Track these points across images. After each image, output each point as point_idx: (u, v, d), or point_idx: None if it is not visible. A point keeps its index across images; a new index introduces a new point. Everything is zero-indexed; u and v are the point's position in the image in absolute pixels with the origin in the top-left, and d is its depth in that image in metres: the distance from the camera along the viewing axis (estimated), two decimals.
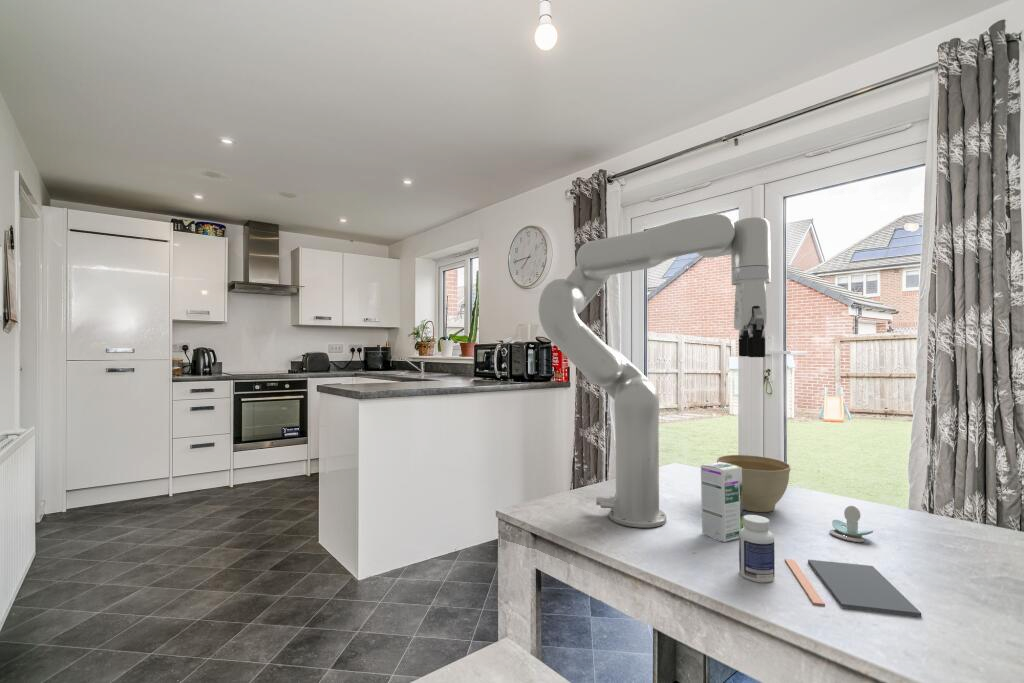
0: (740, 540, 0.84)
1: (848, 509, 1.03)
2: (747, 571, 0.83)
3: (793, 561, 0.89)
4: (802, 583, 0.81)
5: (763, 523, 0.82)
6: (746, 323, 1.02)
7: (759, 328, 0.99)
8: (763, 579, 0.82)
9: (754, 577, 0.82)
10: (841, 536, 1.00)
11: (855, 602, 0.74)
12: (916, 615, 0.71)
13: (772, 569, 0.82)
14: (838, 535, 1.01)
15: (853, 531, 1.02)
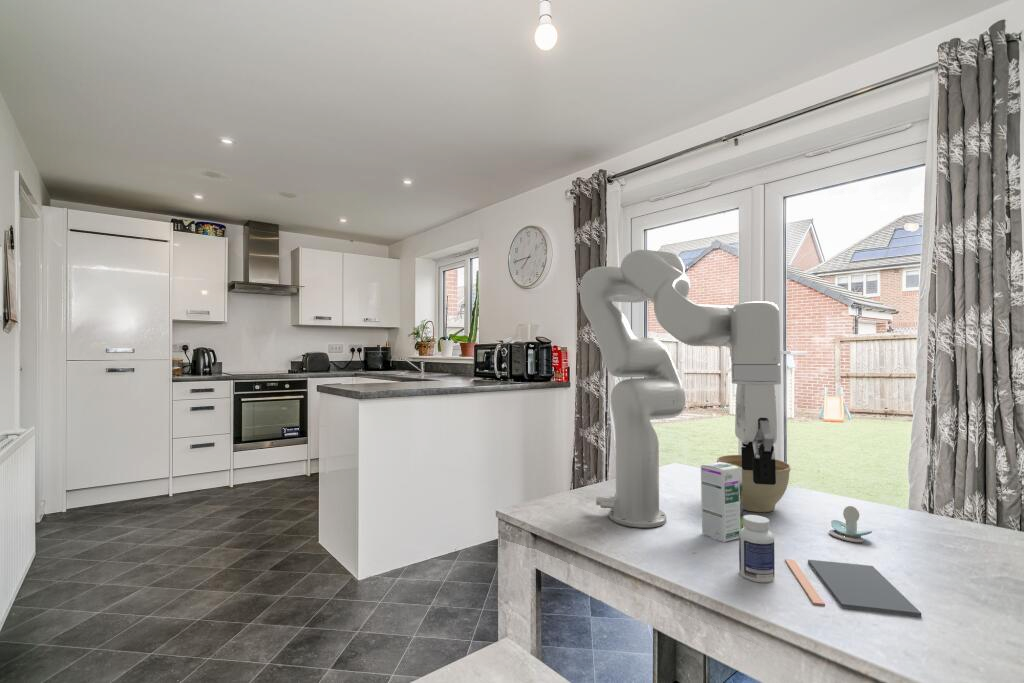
0: (740, 540, 0.84)
1: (847, 509, 1.03)
2: (747, 571, 0.83)
3: (793, 561, 0.89)
4: (802, 583, 0.81)
5: (763, 523, 0.82)
6: (751, 439, 0.80)
7: (768, 450, 0.77)
8: (763, 579, 0.82)
9: (754, 577, 0.82)
10: (840, 536, 1.00)
11: (855, 602, 0.74)
12: (916, 615, 0.71)
13: (772, 569, 0.82)
14: (837, 535, 1.01)
15: (852, 531, 1.01)
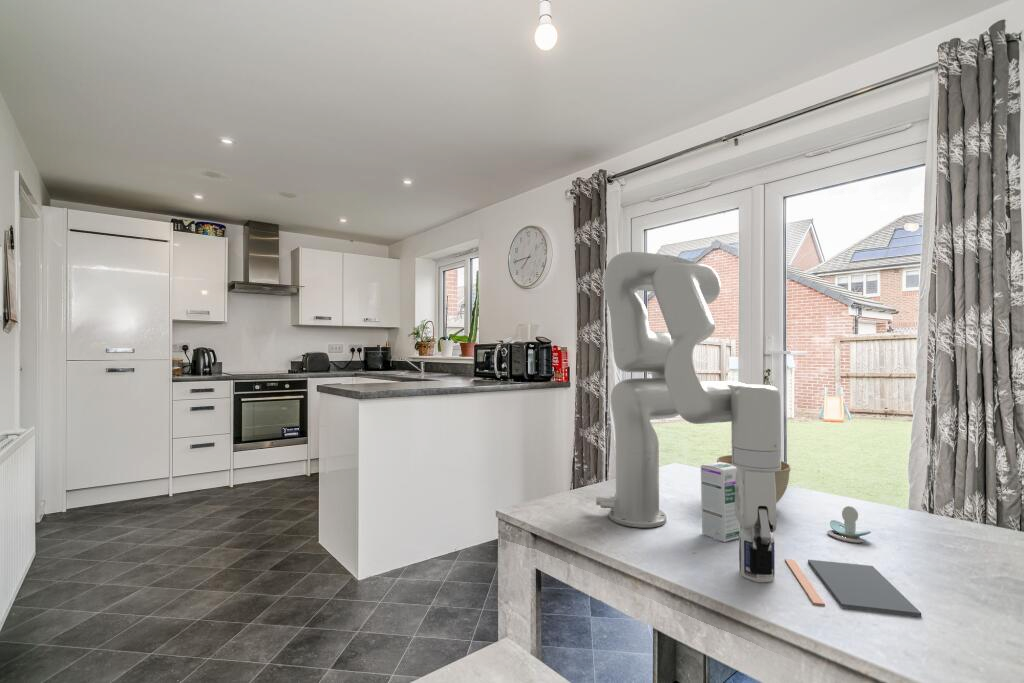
0: (740, 540, 0.84)
1: (846, 509, 1.02)
2: (747, 571, 0.83)
3: (793, 561, 0.89)
4: (802, 583, 0.81)
5: None
6: (750, 527, 0.80)
7: (764, 544, 0.79)
8: (763, 579, 0.82)
9: (754, 577, 0.82)
10: (839, 537, 1.00)
11: (855, 602, 0.74)
12: (916, 615, 0.71)
13: (772, 569, 0.82)
14: (836, 536, 1.01)
15: (851, 531, 1.01)
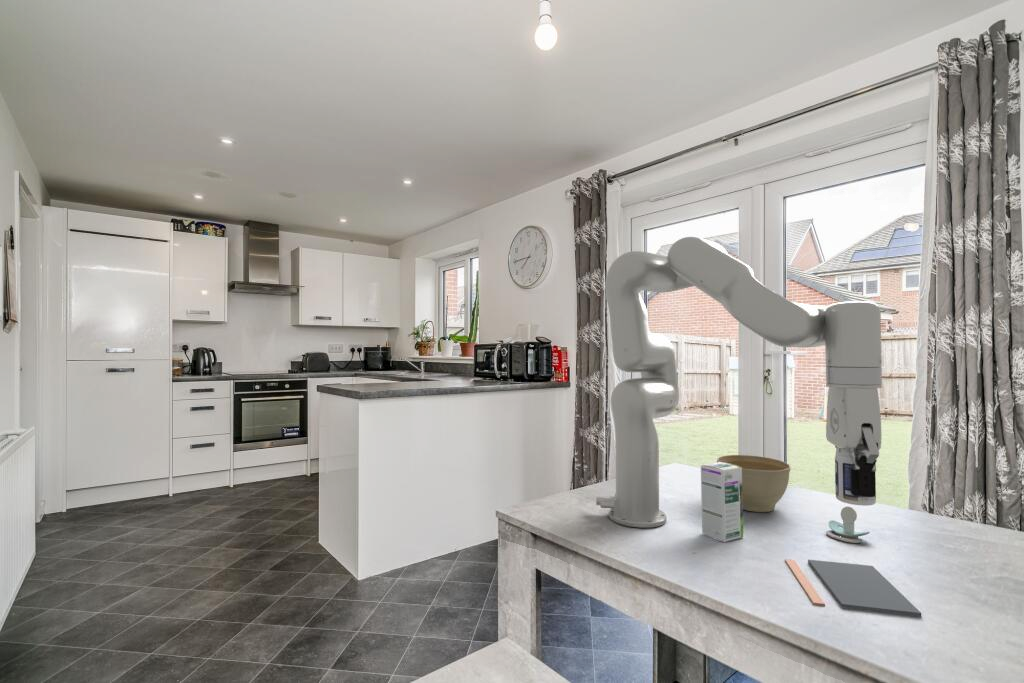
0: (837, 464, 0.81)
1: (844, 510, 1.02)
2: (847, 495, 0.79)
3: (793, 561, 0.89)
4: (802, 583, 0.81)
5: None
6: (853, 446, 0.76)
7: (870, 462, 0.75)
8: (865, 502, 0.78)
9: (855, 500, 0.78)
10: (837, 537, 1.00)
11: (855, 602, 0.74)
12: (916, 615, 0.71)
13: None
14: (834, 536, 1.00)
15: (850, 532, 1.01)
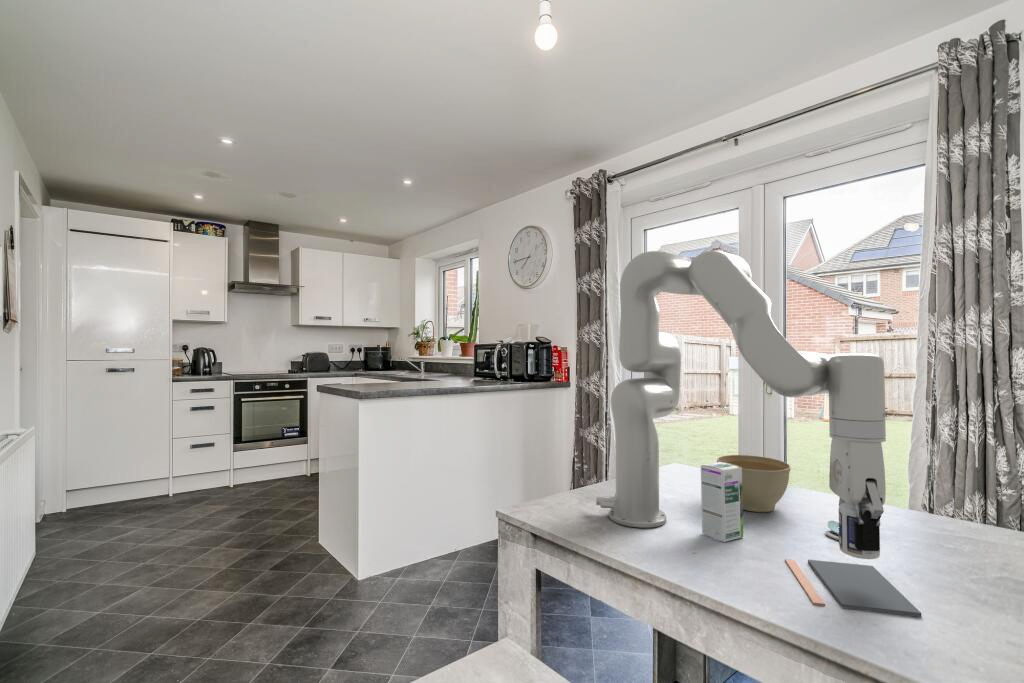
0: (841, 515, 0.80)
1: None
2: (851, 548, 0.79)
3: (793, 561, 0.89)
4: (802, 583, 0.81)
5: None
6: (857, 500, 0.76)
7: (874, 518, 0.75)
8: (869, 555, 0.78)
9: (859, 554, 0.78)
10: (836, 537, 1.00)
11: (855, 602, 0.74)
12: (916, 615, 0.71)
13: None
14: (833, 536, 1.00)
15: None
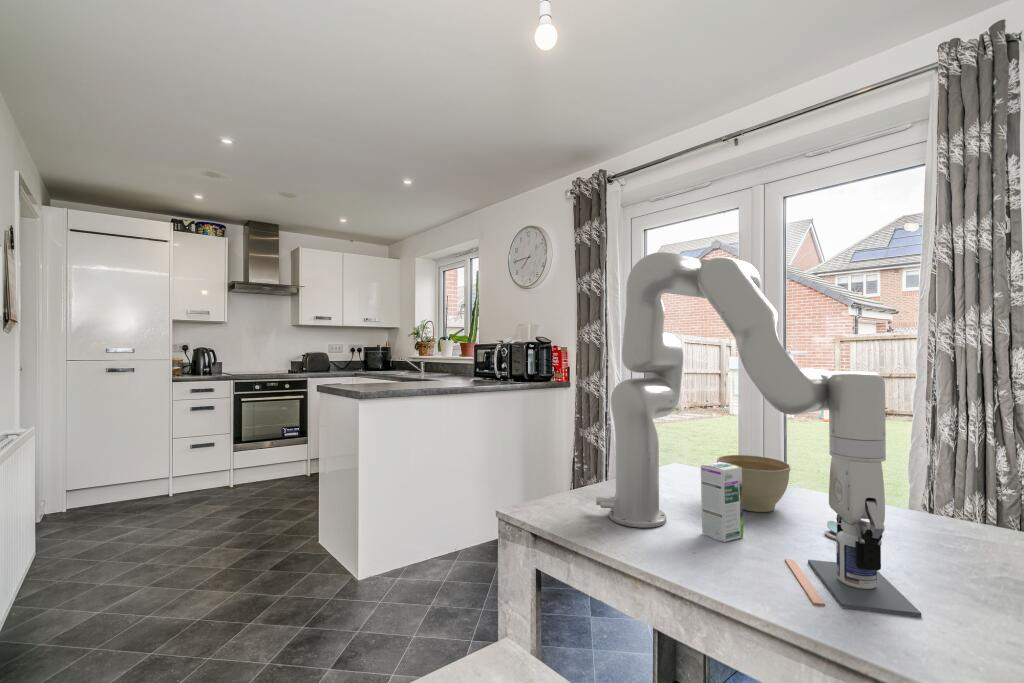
0: (839, 544, 0.81)
1: None
2: (848, 577, 0.79)
3: (793, 561, 0.89)
4: (802, 583, 0.81)
5: (866, 527, 0.79)
6: (857, 520, 0.76)
7: (876, 537, 0.74)
8: (866, 585, 0.78)
9: (856, 583, 0.78)
10: None
11: (855, 602, 0.74)
12: (916, 615, 0.71)
13: (875, 575, 0.78)
14: (833, 536, 1.00)
15: None
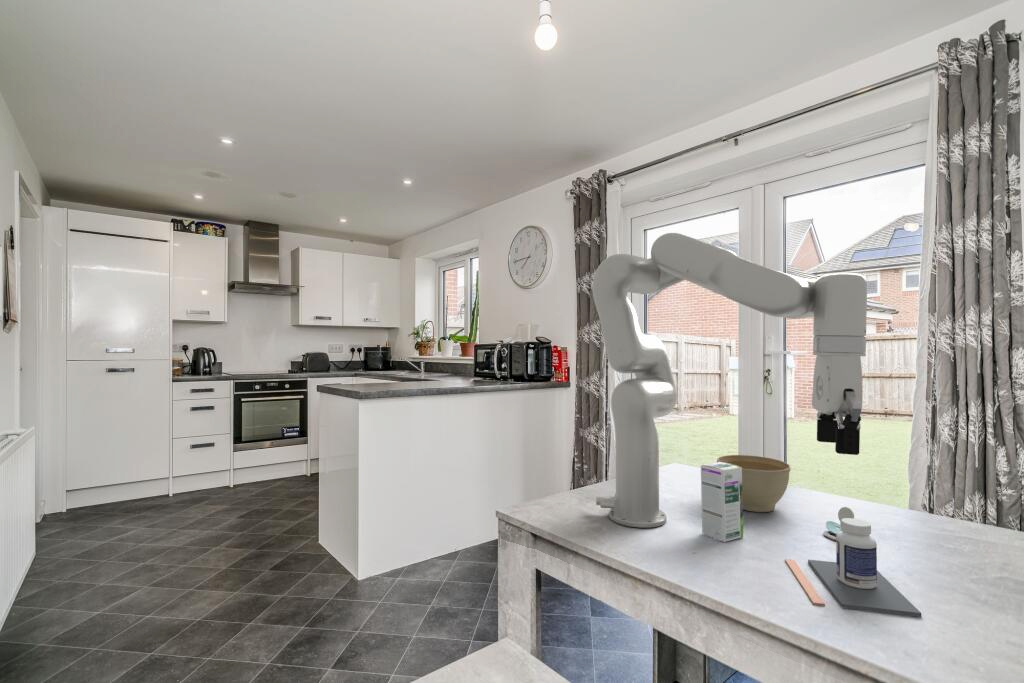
0: (839, 544, 0.81)
1: (842, 510, 1.02)
2: (848, 577, 0.79)
3: (793, 561, 0.89)
4: (802, 583, 0.81)
5: (866, 527, 0.79)
6: (835, 410, 0.81)
7: (855, 420, 0.78)
8: (866, 585, 0.78)
9: (856, 583, 0.78)
10: (834, 538, 1.00)
11: (855, 602, 0.74)
12: (916, 615, 0.71)
13: (875, 575, 0.78)
14: (831, 537, 1.00)
15: None
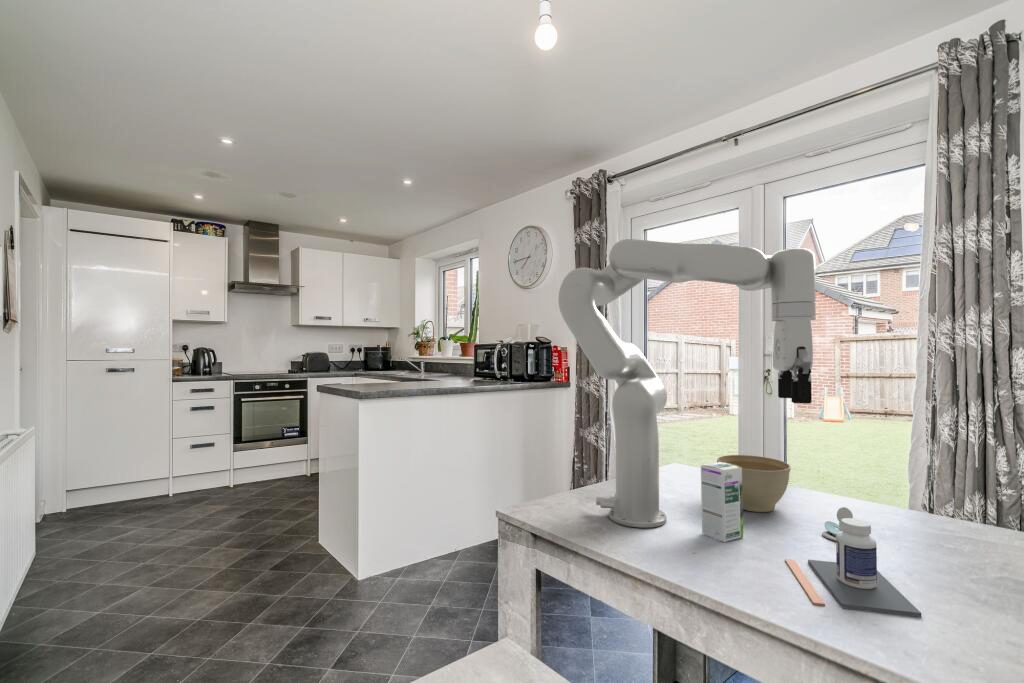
0: (839, 544, 0.81)
1: (840, 511, 1.02)
2: (848, 577, 0.79)
3: (793, 561, 0.89)
4: (802, 583, 0.81)
5: (866, 527, 0.79)
6: (790, 365, 0.93)
7: (806, 372, 0.90)
8: (866, 585, 0.78)
9: (856, 583, 0.78)
10: (833, 538, 0.99)
11: (855, 602, 0.74)
12: (916, 615, 0.71)
13: (875, 575, 0.78)
14: (830, 537, 1.00)
15: None
